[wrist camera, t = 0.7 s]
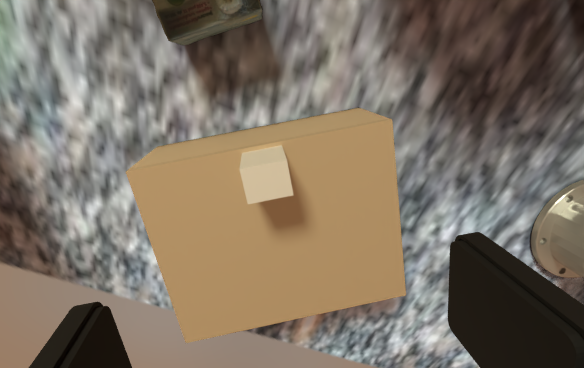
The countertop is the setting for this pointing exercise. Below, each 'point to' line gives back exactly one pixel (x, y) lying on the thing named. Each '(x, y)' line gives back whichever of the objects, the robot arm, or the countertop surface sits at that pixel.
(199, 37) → the beverage carton
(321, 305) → the carton lid
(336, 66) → the countertop surface
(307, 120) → the carton
